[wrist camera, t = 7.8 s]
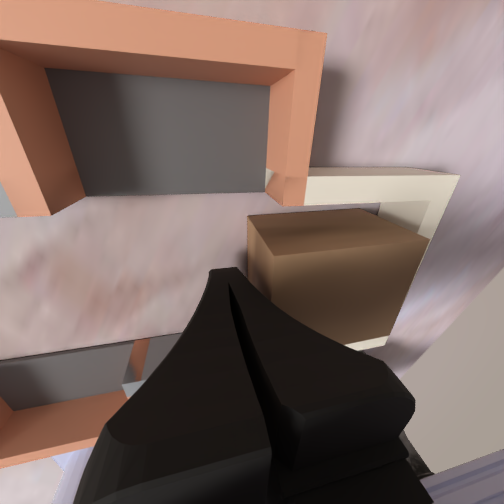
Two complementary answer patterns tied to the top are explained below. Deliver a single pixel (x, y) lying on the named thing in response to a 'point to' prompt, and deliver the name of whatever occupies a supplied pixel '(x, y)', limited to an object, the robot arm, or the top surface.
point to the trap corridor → (157, 163)
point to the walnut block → (334, 269)
